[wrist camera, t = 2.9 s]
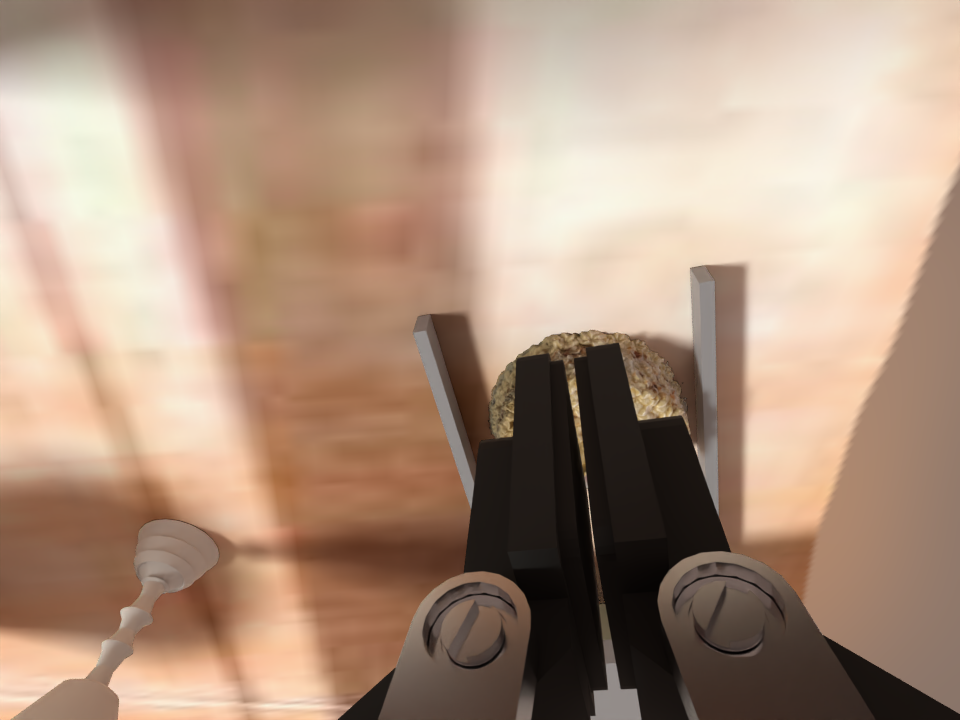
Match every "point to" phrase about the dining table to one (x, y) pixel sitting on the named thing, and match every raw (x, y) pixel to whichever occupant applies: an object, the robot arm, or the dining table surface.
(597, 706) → the low barrier
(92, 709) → the chalice
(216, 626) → the dining table surface
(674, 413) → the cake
